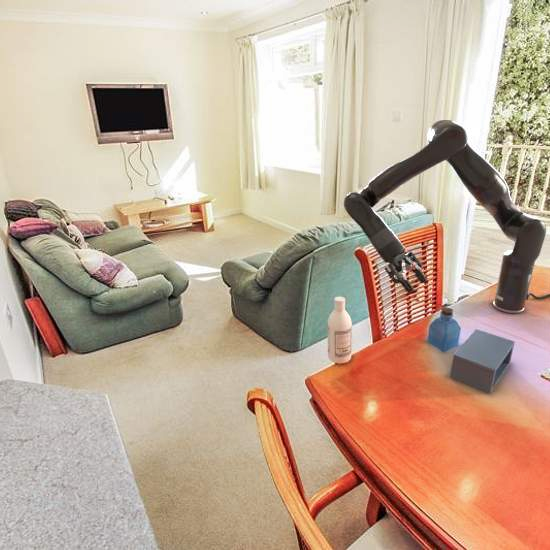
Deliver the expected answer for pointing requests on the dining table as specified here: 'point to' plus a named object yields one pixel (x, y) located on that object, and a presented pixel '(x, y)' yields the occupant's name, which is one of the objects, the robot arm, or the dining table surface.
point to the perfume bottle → (444, 331)
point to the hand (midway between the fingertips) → (418, 286)
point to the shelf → (482, 360)
